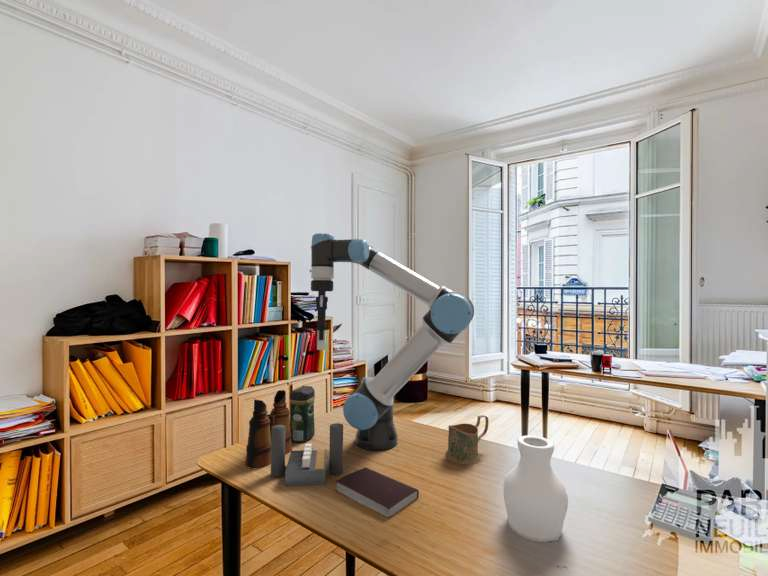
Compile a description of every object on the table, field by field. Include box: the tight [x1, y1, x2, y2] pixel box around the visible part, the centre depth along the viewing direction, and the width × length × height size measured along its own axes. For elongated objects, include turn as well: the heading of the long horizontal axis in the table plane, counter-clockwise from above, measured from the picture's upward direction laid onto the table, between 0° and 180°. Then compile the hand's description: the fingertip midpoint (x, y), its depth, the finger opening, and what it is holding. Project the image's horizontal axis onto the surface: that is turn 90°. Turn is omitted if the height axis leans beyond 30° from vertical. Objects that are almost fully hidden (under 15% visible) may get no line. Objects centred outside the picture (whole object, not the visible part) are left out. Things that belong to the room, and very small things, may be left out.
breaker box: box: [284, 449, 328, 487], centre depth 117 cm, size 11×14×4 cm
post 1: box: [270, 425, 286, 479], centre depth 116 cm, size 4×4×14 cm
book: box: [335, 466, 420, 519], centre depth 106 cm, size 12×19×3 cm, turn 49°
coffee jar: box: [289, 385, 316, 443], centre depth 144 cm, size 10×8×19 cm
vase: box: [503, 434, 569, 543], centre depth 92 cm, size 14×14×20 cm
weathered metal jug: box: [444, 415, 489, 465], centre depth 132 cm, size 12×18×12 cm, turn 124°
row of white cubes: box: [302, 443, 313, 468], centre depth 117 cm, size 2×11×2 cm, turn 7°
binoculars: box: [244, 389, 293, 469], centre depth 128 cm, size 18×8×20 cm, turn 156°
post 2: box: [328, 422, 344, 476], centre depth 118 cm, size 4×4×14 cm
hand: (321, 349), depth 133 cm, fingers closed
